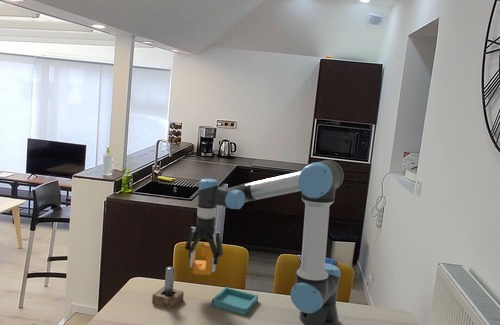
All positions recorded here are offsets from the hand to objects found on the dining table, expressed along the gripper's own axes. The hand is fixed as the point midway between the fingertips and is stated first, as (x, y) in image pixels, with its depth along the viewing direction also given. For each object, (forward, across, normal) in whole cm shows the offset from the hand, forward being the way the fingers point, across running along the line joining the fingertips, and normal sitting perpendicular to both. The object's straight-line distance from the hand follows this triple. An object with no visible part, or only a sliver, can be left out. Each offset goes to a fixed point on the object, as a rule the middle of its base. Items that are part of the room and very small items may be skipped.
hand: (202, 268), depth 190 cm
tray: (+12, -15, -1) cm, 19 cm away
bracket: (+1, 0, 0) cm, 1 cm away
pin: (+11, +9, +12) cm, 19 cm away
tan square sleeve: (+11, +9, +12) cm, 19 cm away
